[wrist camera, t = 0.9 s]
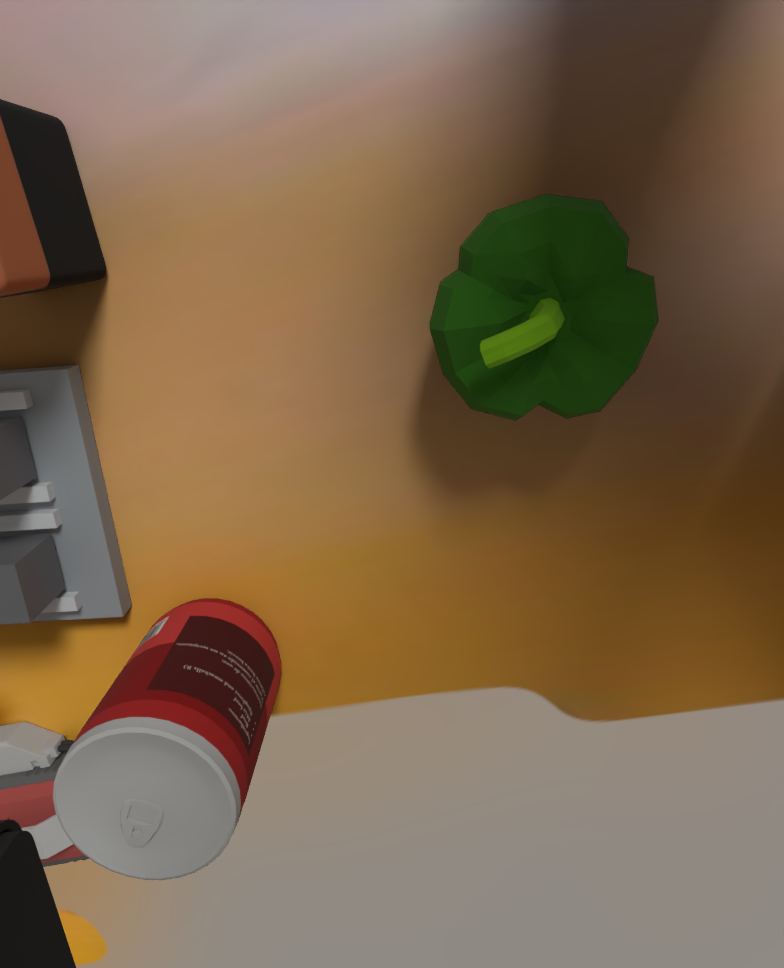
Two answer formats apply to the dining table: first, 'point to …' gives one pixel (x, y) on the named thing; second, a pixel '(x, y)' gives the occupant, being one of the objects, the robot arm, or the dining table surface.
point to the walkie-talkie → (34, 788)
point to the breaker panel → (64, 492)
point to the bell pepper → (543, 310)
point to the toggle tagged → (14, 456)
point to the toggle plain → (28, 577)
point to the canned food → (172, 744)
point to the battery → (42, 207)
